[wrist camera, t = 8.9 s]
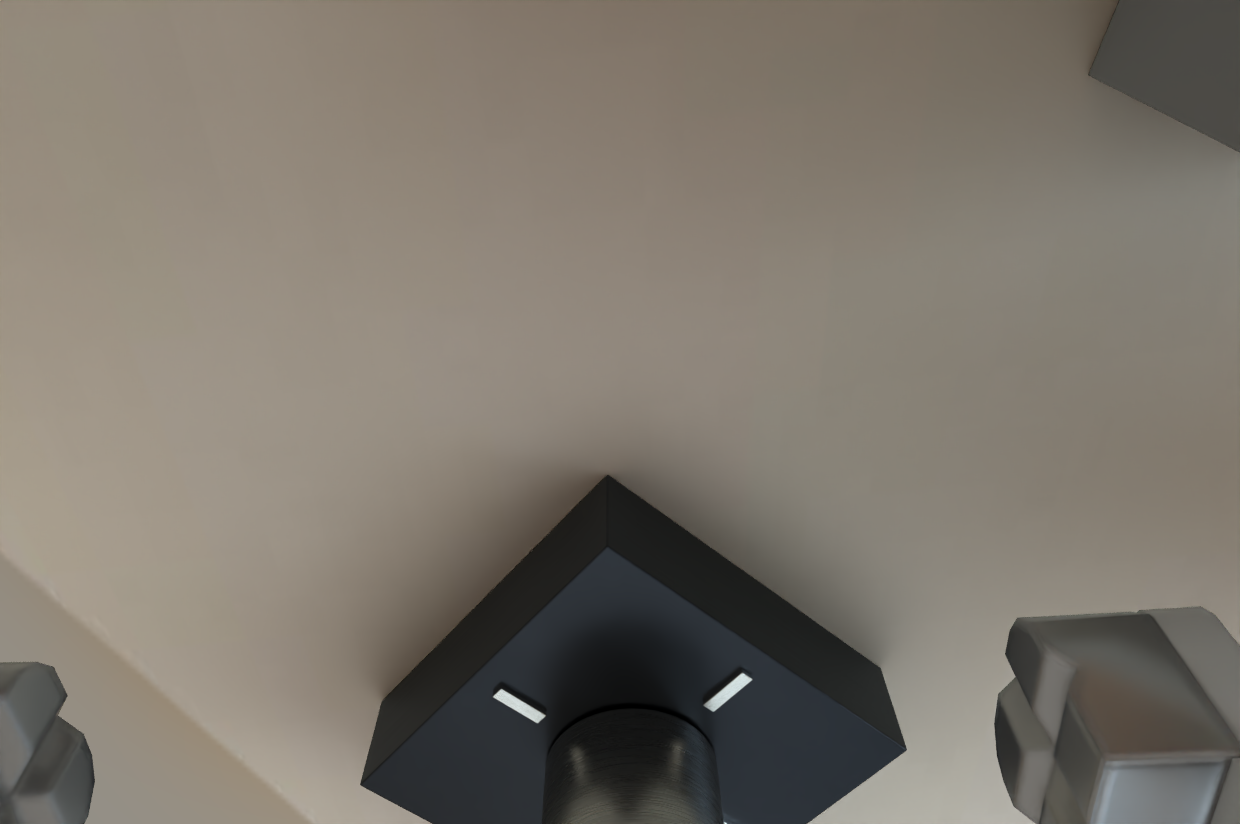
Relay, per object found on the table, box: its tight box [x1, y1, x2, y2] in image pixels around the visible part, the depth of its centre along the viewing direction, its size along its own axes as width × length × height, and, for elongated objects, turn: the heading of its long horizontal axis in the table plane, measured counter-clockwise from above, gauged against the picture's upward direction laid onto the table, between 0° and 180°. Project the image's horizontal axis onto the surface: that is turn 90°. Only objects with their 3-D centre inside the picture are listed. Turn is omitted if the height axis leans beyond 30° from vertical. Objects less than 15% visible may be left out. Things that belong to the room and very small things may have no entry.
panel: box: [360, 475, 907, 824], centre depth 28 cm, size 10×10×3 cm
